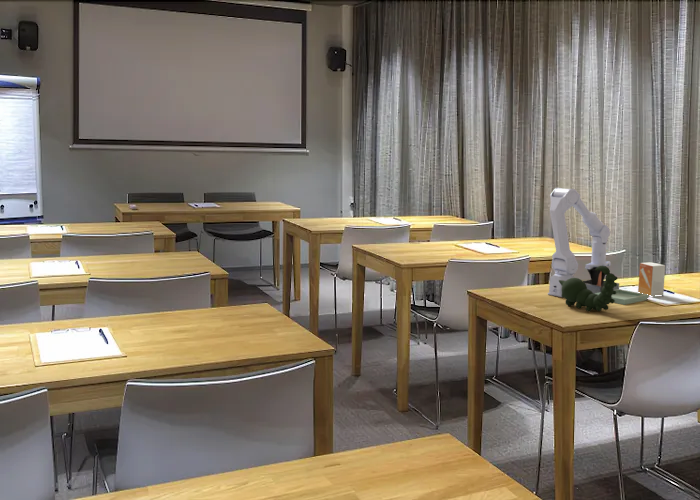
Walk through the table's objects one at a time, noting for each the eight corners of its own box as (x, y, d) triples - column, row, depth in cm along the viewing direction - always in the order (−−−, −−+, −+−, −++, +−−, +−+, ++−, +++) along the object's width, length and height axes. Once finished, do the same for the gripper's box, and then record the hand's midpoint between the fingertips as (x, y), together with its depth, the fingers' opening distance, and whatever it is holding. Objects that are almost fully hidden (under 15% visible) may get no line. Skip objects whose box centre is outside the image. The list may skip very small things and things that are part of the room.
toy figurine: (617, 317, 270) (564, 299, 290) (624, 268, 265) (570, 253, 286) (601, 320, 264) (548, 302, 285) (607, 270, 260) (553, 255, 280)
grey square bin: (600, 294, 301) (600, 286, 300) (575, 289, 311) (575, 281, 310) (618, 291, 308) (619, 283, 307) (593, 286, 318) (594, 278, 318)
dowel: (597, 290, 307) (598, 272, 306) (591, 289, 310) (592, 271, 309) (602, 290, 309) (603, 271, 308) (596, 288, 311) (597, 270, 310)
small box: (637, 293, 304) (639, 262, 302) (650, 292, 306) (652, 261, 304) (650, 297, 296) (652, 265, 294) (663, 296, 298) (665, 265, 296)
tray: (624, 304, 283) (624, 299, 283) (593, 298, 294) (594, 293, 294) (648, 299, 292) (648, 294, 292) (618, 293, 303) (618, 289, 303)
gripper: (596, 255, 300) (594, 287, 302) (617, 252, 308) (615, 283, 310) (581, 253, 305) (580, 285, 307) (603, 250, 314) (601, 281, 316)
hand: (597, 284), depth 309 cm, fingers closed on dowel, 3 cm apart
